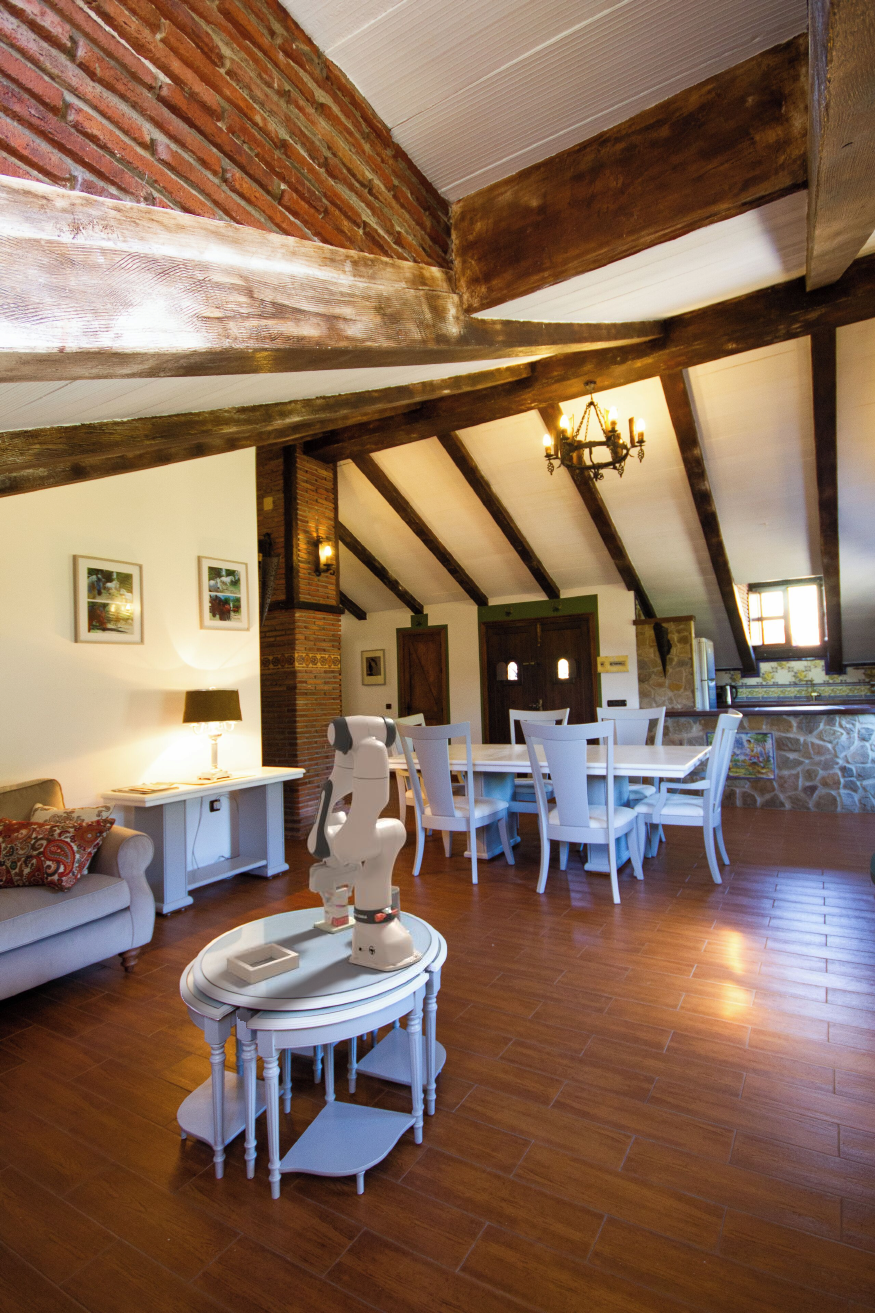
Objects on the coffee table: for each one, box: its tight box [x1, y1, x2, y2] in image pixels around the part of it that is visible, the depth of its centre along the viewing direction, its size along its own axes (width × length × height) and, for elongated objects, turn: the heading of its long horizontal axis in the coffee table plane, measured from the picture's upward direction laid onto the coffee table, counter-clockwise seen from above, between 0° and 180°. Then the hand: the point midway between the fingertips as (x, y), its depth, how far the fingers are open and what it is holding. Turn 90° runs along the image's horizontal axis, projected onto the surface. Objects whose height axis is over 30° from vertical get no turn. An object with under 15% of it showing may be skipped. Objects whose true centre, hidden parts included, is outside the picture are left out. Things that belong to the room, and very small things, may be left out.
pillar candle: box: [391, 885, 402, 924], centre depth 214 cm, size 10×10×15 cm
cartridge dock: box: [225, 942, 300, 985], centre depth 188 cm, size 15×15×4 cm
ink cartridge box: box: [323, 881, 350, 927], centre depth 223 cm, size 9×5×15 cm, turn 42°
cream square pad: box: [313, 916, 355, 935], centre depth 223 cm, size 12×12×1 cm
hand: (337, 899), depth 224 cm, fingers open, 8 cm apart
